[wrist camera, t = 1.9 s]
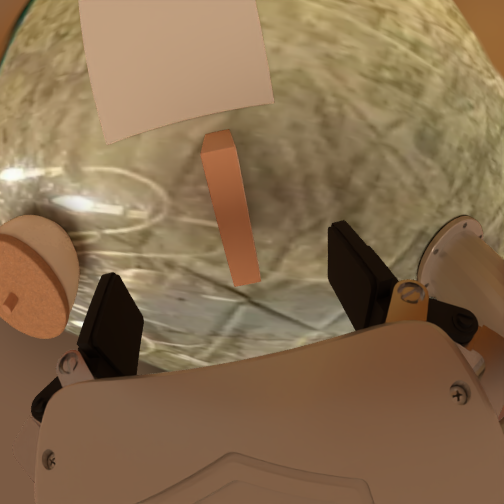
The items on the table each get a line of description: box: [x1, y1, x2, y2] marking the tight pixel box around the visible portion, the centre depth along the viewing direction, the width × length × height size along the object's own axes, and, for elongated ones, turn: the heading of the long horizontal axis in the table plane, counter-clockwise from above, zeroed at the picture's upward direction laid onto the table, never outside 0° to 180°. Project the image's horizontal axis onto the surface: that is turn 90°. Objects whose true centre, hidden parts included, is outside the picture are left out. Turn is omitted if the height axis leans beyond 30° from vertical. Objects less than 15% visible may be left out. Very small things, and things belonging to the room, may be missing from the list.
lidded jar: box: [0, 215, 80, 339], centre depth 18 cm, size 11×11×9 cm
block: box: [201, 129, 261, 287], centre depth 19 cm, size 9×2×7 cm, turn 9°
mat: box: [79, 0, 274, 145], centre depth 13 cm, size 16×13×1 cm
